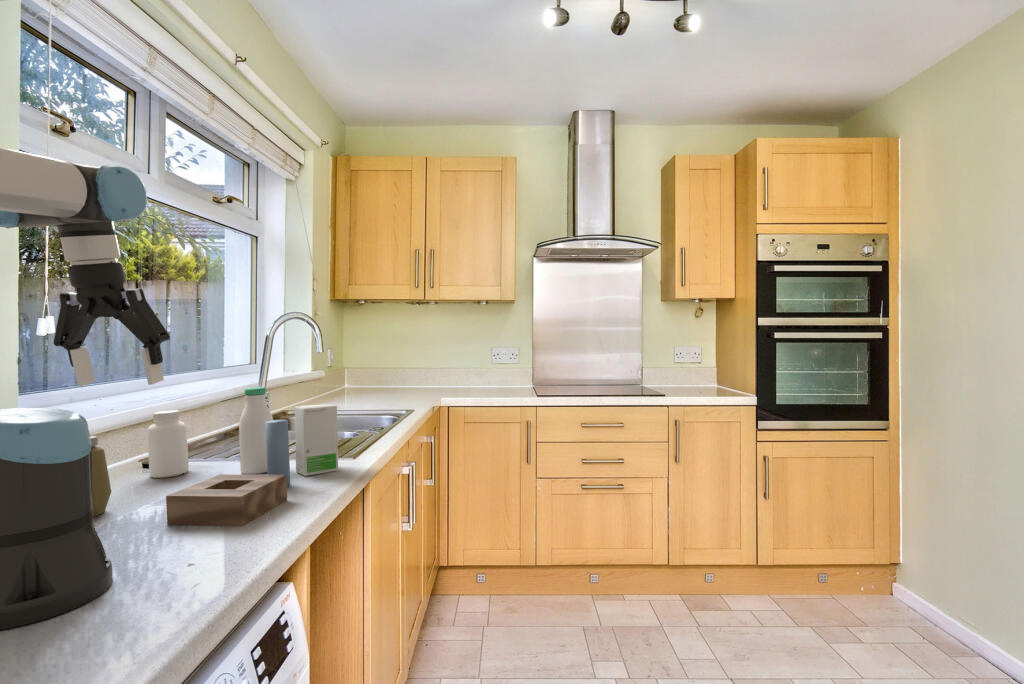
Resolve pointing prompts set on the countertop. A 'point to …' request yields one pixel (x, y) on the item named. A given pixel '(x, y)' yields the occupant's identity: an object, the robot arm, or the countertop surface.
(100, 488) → the squeeze bottle
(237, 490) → the socket block
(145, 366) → the robot arm
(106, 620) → the countertop surface
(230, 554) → the countertop surface
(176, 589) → the countertop surface
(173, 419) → the pill bottle
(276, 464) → the peg
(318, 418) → the skincare box
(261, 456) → the milk bottle
